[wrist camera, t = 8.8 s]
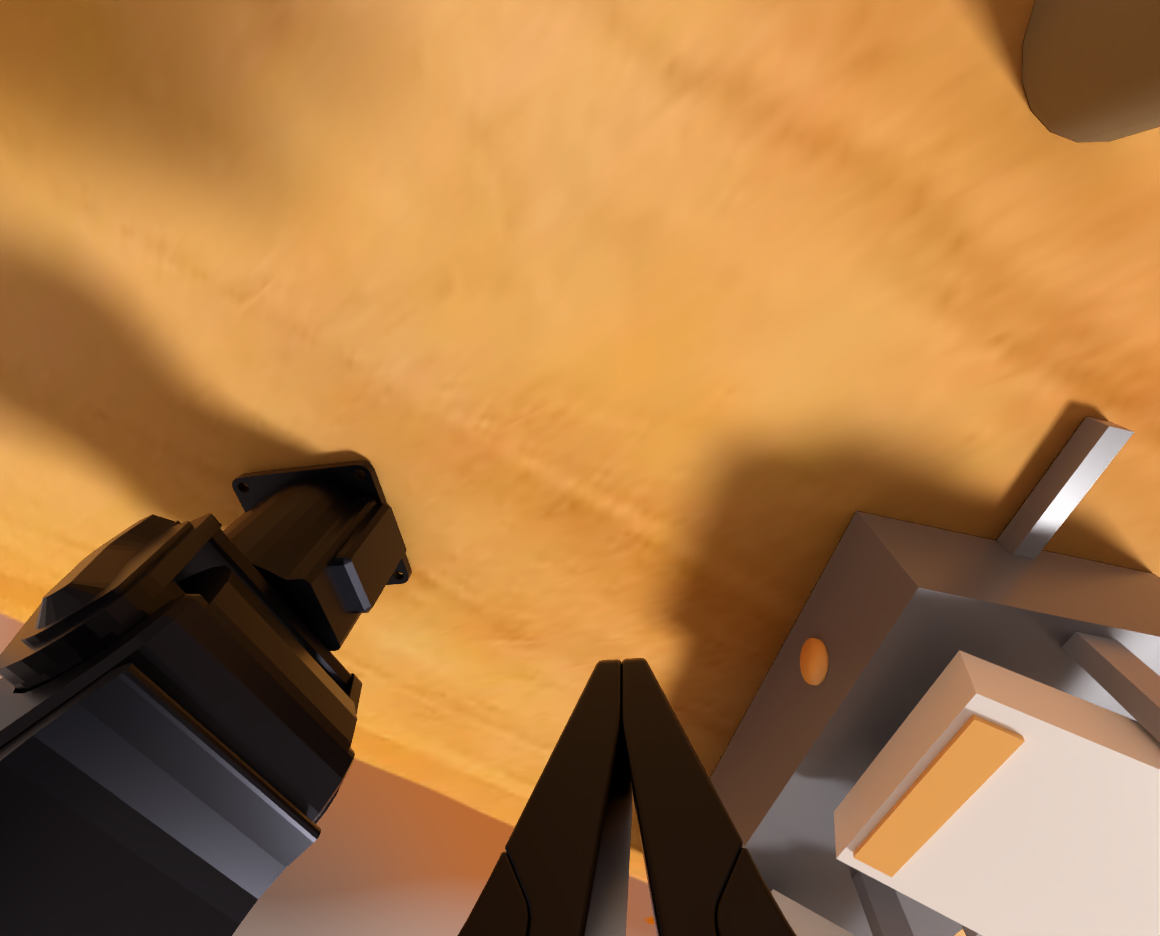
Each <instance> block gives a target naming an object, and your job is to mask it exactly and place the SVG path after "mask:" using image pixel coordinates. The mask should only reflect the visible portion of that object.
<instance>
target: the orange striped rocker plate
mask: <svg viewBox="0 0 1160 936" xmlns="http://www.w3.org/2000/svg"><path fill="white" fill-rule="evenodd" d="M834 827H835V845H836V859H838V860H840V861H841V862H843V863H845V864H847V865H849V866H851V867H853V868H855V869H857V870H859V871H861V872H862V873H864V874H866V875H868V876H870V877H872V878H874V879H876V880H878V881H880V882H881V883H883V884H885V885H887V886H889V887H891V888H893V889H895V890H897V891H899V892H900V893H902V894H904V895H906V896H908V897H910V898H912V899H914V900H916V901H918V902H920V903H921V904H923V905H925V906H927V907H929V908H931V909H933V910H935V911H937V912H939V913H940V914H942V915H944V916H946V917H948V918H950V919H952V920H954V921H956V922H958V923H959V924H961V925H963V926H965V927H967V928H969V929H971V930H973V931H975V932H977V933H979V934H980V935H982V936H1160V743H1159V742H1158V741H1157V740H1156V739H1155V738H1154V737H1153V736H1152V735H1151V734H1150V733H1149V732H1148V731H1147V730H1146V729H1145V728H1144V727H1143V726H1142V725H1141V724H1140V723H1139V722H1138V721H1135V720H1133V719H1130V718H1128V717H1125V716H1123V715H1120V714H1118V713H1115V712H1113V711H1110V710H1108V709H1105V708H1103V707H1100V706H1098V705H1095V704H1093V703H1090V702H1088V701H1085V700H1083V699H1080V698H1078V697H1075V696H1073V695H1070V694H1068V693H1065V692H1063V691H1060V690H1058V689H1055V688H1053V687H1050V686H1048V685H1045V684H1043V683H1040V682H1038V681H1035V680H1033V679H1030V678H1028V677H1025V676H1023V675H1020V674H1018V673H1015V672H1013V671H1010V670H1008V669H1005V668H1003V667H1000V666H998V665H995V664H993V663H990V662H988V661H985V660H983V659H980V658H978V657H975V656H973V655H970V654H968V653H965V652H963V651H960V650H959V651H958V653H957V654H956V655H955V657H954V658H953V659H952V660H951V662H950V663H949V664H948V666H947V667H946V668H945V669H944V671H943V672H942V673H941V675H940V676H939V677H938V678H937V680H936V681H935V682H934V684H933V685H932V686H931V687H930V689H929V690H928V691H927V693H926V694H925V695H924V696H923V698H922V699H921V700H920V701H919V703H918V704H917V705H916V707H915V708H914V709H913V710H912V712H911V713H910V714H909V716H908V717H907V718H906V719H905V721H904V722H903V723H902V725H901V726H900V727H899V728H898V730H897V731H896V732H895V734H894V735H893V736H892V737H891V739H890V740H889V741H888V743H887V744H886V745H885V746H884V748H883V749H882V750H881V752H880V753H879V754H878V755H877V757H876V758H875V759H874V761H873V762H872V763H871V764H870V766H869V767H868V768H867V770H866V771H865V772H864V773H863V775H862V776H861V777H860V779H859V780H858V781H857V782H856V784H855V785H854V786H853V788H852V789H851V790H850V791H849V793H848V794H847V795H846V797H845V798H844V799H843V800H842V802H841V803H840V804H839V806H838V807H837V808H836V809H835V811H834Z"/></svg>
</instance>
